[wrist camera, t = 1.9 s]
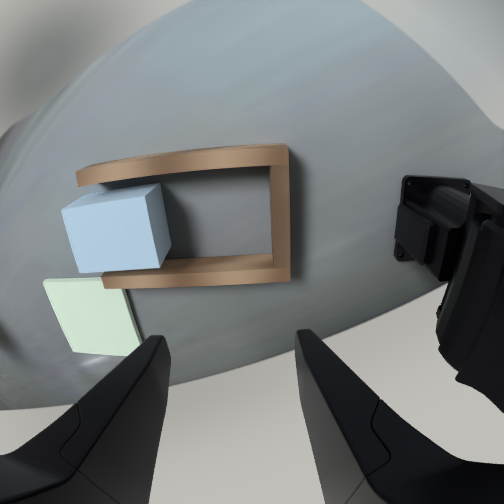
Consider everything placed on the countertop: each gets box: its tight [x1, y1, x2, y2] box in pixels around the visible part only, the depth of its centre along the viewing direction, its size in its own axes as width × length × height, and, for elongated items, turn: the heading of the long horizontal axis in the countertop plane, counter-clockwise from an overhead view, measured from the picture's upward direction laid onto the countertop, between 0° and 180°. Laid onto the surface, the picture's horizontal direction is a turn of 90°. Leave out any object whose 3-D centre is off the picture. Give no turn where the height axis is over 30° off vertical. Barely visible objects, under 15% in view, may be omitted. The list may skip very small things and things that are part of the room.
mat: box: [43, 277, 142, 356], centre depth 23 cm, size 8×8×1 cm
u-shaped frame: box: [76, 143, 290, 289], centre depth 19 cm, size 13×8×2 cm, turn 93°
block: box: [61, 183, 172, 273], centre depth 19 cm, size 6×4×4 cm
